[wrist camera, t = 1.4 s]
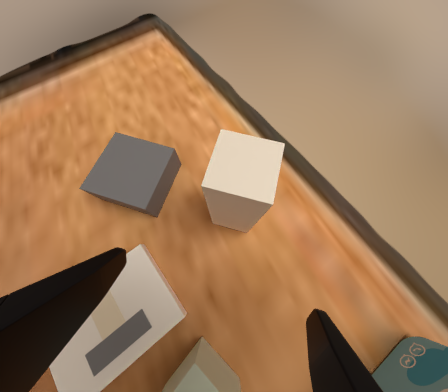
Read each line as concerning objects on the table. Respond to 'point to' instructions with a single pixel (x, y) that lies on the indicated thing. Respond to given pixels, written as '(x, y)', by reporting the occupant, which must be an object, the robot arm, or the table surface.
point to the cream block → (241, 179)
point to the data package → (414, 367)
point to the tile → (119, 327)
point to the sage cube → (203, 372)
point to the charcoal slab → (133, 174)
